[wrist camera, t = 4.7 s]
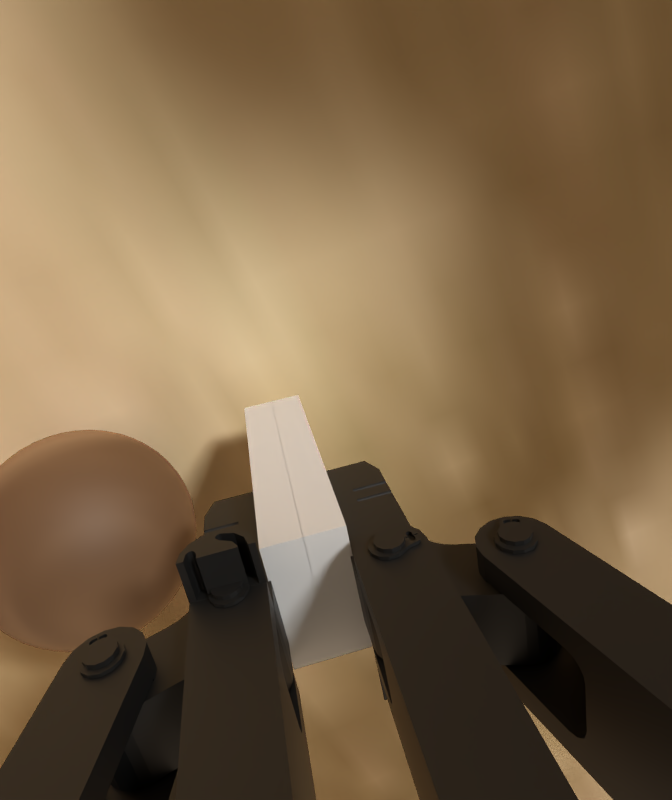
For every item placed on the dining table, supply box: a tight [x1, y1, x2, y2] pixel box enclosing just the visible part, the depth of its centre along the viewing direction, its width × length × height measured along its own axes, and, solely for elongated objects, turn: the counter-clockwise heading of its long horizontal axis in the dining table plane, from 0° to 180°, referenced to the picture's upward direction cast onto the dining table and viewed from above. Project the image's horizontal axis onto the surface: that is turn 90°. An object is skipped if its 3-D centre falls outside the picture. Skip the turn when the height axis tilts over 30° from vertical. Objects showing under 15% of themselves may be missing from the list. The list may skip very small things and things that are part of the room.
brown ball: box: [0, 430, 196, 652], centre depth 15 cm, size 6×6×6 cm
